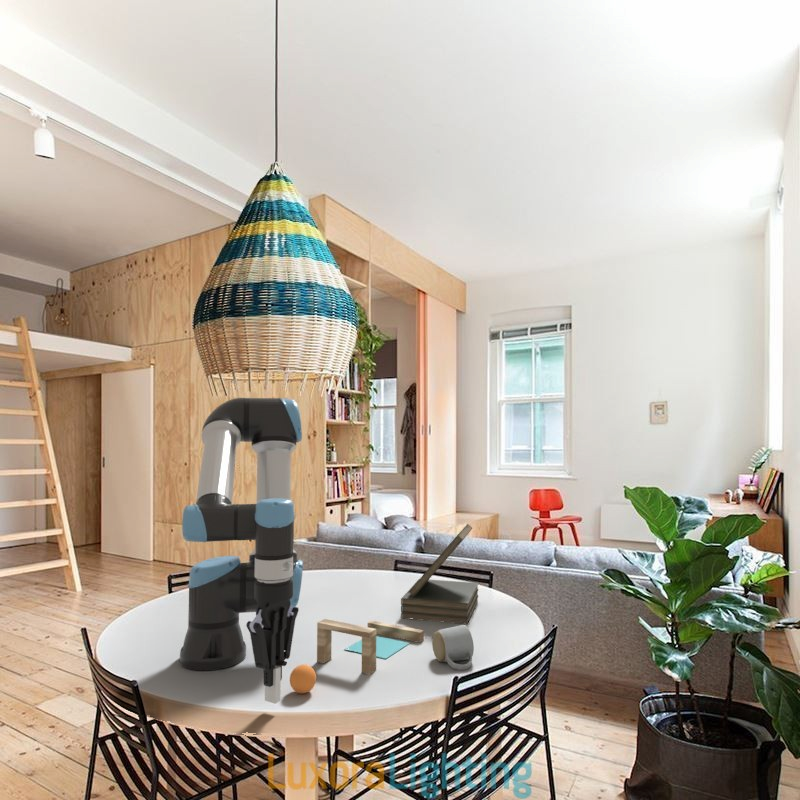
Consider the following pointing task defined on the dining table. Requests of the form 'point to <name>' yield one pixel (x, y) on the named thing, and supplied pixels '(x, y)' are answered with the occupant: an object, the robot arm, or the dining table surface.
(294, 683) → the ball
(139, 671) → the dining table surface
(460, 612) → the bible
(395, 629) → the stopper
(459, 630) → the ceramic mug
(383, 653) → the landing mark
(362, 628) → the bridge
